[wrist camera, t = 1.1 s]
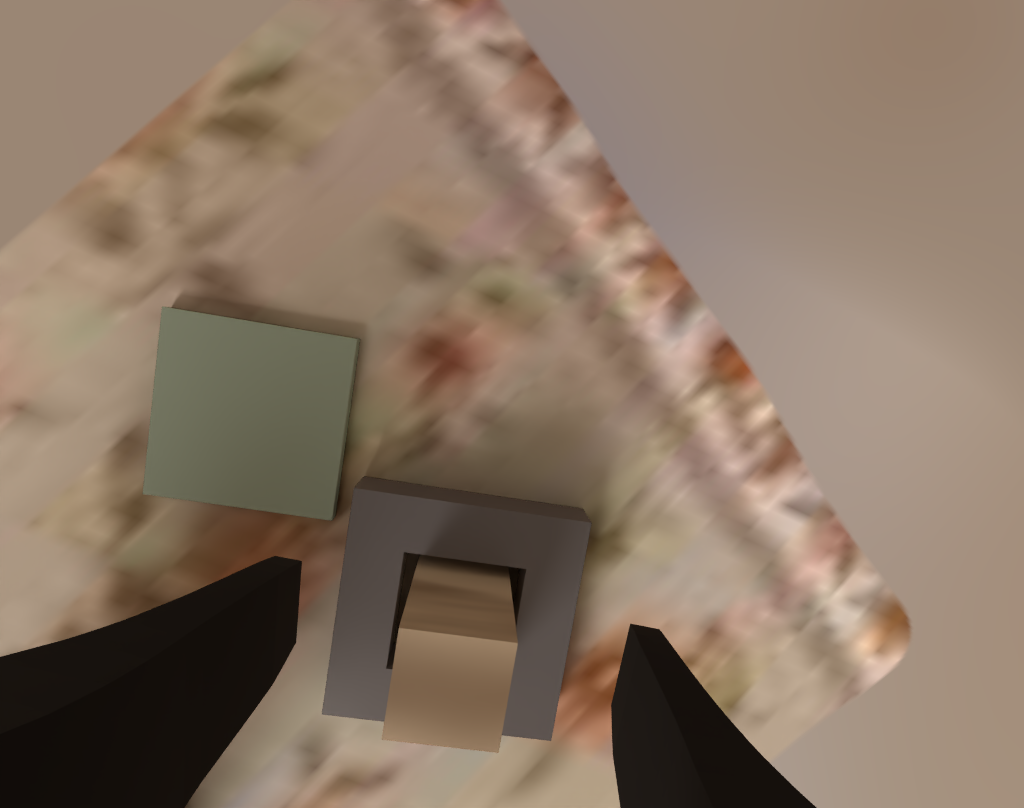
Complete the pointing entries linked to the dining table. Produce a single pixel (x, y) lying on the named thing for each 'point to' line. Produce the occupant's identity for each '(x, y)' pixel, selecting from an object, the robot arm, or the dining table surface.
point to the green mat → (249, 414)
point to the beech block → (453, 656)
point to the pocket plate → (463, 536)
